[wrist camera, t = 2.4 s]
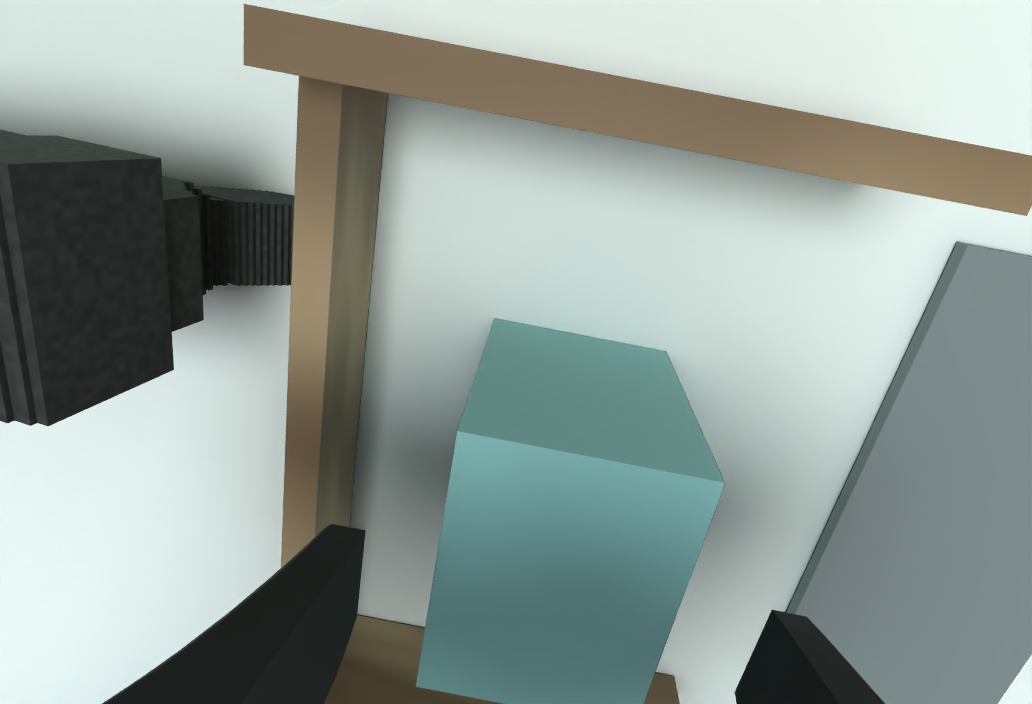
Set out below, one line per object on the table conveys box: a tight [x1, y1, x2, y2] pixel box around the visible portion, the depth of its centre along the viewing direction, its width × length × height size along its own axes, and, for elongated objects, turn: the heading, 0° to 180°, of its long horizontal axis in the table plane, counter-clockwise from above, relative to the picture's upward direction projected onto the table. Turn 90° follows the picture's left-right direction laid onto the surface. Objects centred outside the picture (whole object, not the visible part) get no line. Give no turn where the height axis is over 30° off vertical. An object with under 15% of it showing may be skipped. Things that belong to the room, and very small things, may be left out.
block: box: [416, 318, 725, 704], centre depth 14 cm, size 6×4×6 cm
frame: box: [244, 4, 1032, 704], centre depth 14 cm, size 17×12×5 cm
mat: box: [786, 242, 1032, 704], centre depth 16 cm, size 14×7×1 cm, turn 170°
